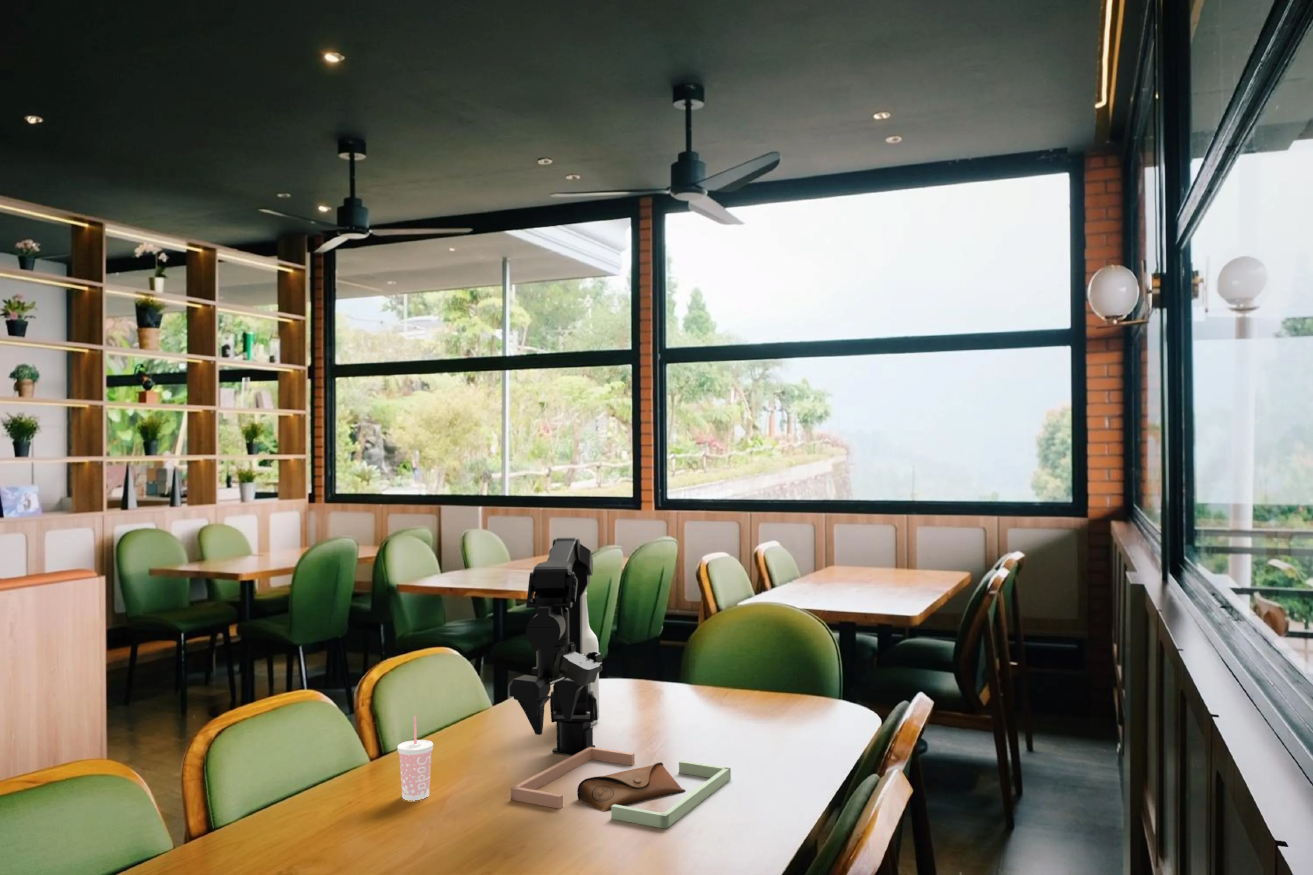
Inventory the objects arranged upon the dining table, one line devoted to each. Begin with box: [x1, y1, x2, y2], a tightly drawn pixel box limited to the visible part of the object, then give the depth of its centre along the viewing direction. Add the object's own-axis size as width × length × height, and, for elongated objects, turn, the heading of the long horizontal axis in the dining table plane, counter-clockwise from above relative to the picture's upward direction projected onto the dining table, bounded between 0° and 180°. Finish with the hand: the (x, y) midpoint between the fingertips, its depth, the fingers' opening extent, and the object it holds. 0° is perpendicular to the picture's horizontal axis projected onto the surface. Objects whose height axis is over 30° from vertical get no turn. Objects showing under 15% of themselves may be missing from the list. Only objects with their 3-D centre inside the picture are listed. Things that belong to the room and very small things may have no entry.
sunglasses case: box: [576, 762, 686, 813], centre depth 167 cm, size 18×7×7 cm
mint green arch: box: [610, 760, 732, 830], centre depth 164 cm, size 10×26×2 cm, turn 152°
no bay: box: [510, 746, 636, 810], centre depth 174 cm, size 10×26×2 cm, turn 153°
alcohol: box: [582, 587, 600, 727], centre depth 213 cm, size 9×9×30 cm
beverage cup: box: [397, 715, 434, 802], centre depth 167 cm, size 6×6×14 cm
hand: (553, 727), depth 166 cm, fingers open, 9 cm apart
